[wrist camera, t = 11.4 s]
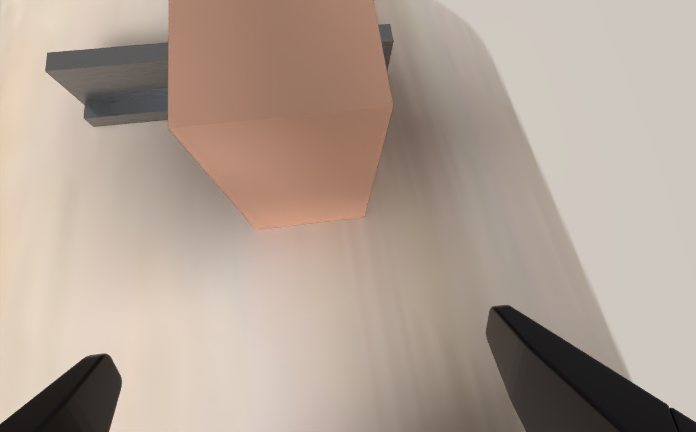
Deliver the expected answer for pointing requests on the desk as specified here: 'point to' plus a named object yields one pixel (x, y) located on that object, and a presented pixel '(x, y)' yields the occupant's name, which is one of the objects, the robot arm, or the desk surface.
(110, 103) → the rail
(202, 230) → the desk surface
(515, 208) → the desk surface
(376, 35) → the carton
